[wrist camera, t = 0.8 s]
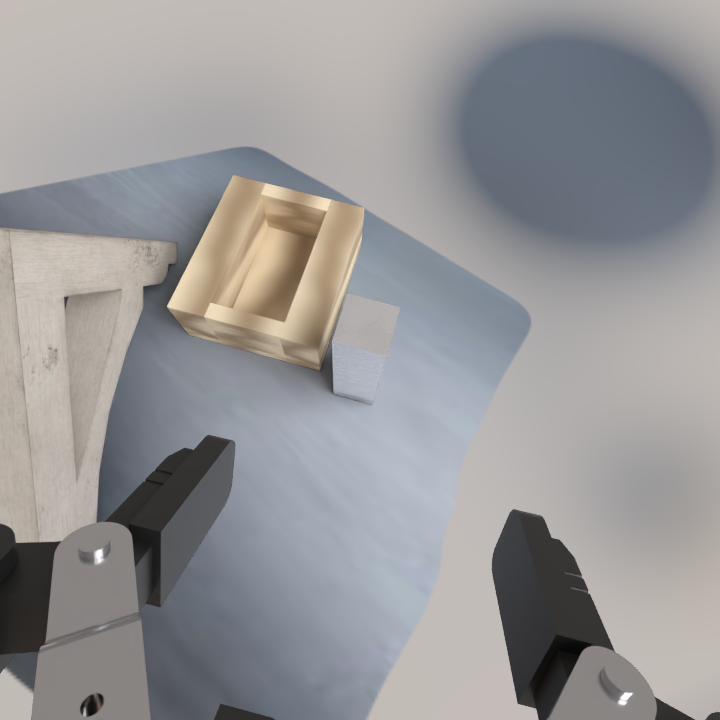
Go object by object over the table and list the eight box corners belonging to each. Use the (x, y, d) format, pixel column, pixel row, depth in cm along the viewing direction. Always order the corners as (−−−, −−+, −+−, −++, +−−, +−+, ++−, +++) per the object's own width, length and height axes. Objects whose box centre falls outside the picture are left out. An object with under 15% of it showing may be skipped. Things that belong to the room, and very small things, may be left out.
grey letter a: (143, 484, 53) (136, 238, 45) (178, 488, 53) (177, 242, 45) (-10, 642, 31) (-68, 221, 24) (49, 648, 31) (9, 230, 24)
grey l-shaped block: (333, 394, 41) (331, 341, 29) (359, 308, 45) (368, 229, 33) (372, 405, 41) (387, 356, 29) (395, 318, 45) (417, 242, 33)
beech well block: (189, 335, 43) (166, 306, 37) (245, 215, 49) (233, 175, 43) (320, 370, 42) (317, 347, 36) (361, 244, 48) (364, 208, 42)
